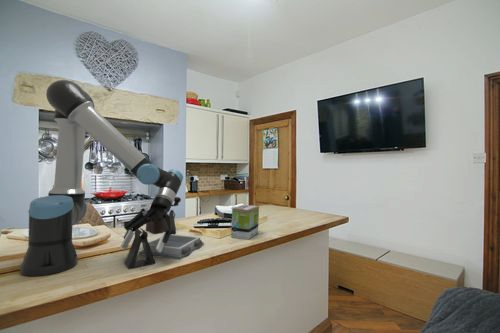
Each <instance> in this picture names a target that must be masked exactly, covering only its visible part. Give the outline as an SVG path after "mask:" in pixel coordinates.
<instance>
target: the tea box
mask: <svg viewBox="0 0 500 333" xmlns="http://www.w3.org/2000/svg"><path fill="white" fill-rule="evenodd" d="M231 210H232V211H231V213H232V214H231V231H230V237H231V238H234V239H241V240H250V239H251V238H252V237H254V236H255V235H257V234H258V233H259V219H260V218H259V217H260V206H259V205H249V204H240V205H238V206H235V207H233V208H231Z"/></svg>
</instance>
